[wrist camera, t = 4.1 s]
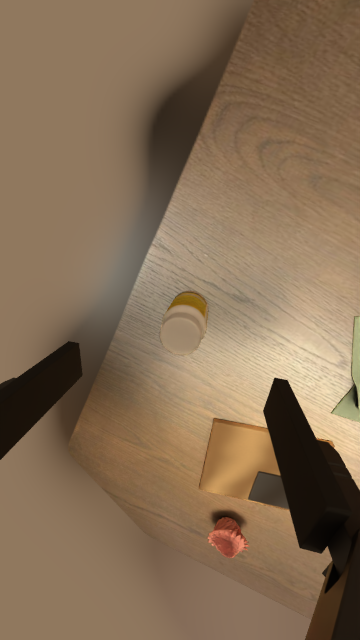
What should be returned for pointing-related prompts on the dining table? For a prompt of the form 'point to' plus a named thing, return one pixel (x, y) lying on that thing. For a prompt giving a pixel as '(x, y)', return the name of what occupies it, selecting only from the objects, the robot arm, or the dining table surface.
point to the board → (243, 464)
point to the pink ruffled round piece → (228, 537)
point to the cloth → (356, 402)
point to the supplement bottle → (184, 323)
